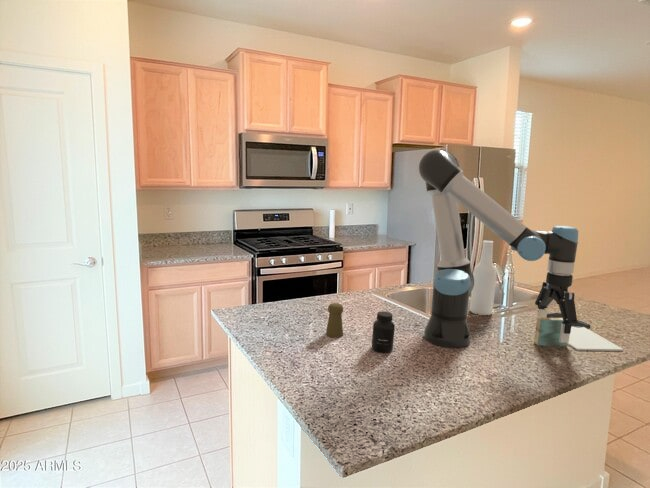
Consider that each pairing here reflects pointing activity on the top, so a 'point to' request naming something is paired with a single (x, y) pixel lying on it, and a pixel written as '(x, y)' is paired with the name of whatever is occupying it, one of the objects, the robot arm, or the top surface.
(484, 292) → the alcohol
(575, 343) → the mat
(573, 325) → the phone
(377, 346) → the supplement bottle
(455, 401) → the top surface
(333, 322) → the cork
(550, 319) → the tile
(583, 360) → the top surface
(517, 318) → the top surface
